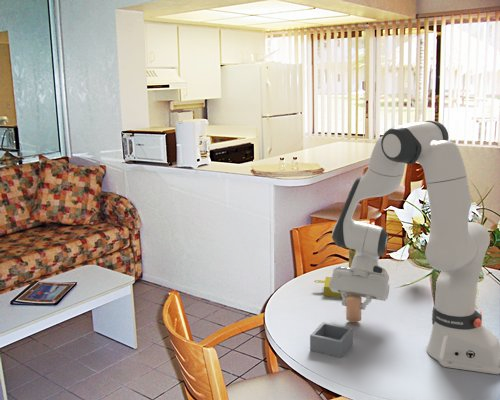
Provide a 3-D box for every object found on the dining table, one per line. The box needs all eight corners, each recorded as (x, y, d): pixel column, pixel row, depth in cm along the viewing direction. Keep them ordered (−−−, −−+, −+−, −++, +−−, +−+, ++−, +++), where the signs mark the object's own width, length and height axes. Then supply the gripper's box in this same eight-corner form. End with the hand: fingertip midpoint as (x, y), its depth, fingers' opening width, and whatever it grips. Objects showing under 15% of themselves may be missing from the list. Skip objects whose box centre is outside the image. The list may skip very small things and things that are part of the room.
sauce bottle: (346, 269, 234) (347, 224, 230) (361, 268, 235) (362, 223, 231) (351, 274, 228) (352, 228, 224) (365, 273, 229) (367, 227, 224)
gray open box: (352, 343, 171) (353, 328, 170) (341, 357, 163) (341, 342, 162) (322, 336, 176) (322, 322, 175) (310, 350, 168) (310, 335, 167)
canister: (363, 317, 186) (363, 296, 184) (358, 323, 182) (358, 301, 180) (349, 314, 188) (349, 293, 187) (344, 320, 184) (344, 299, 183)
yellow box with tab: (315, 265, 219) (354, 267, 216) (315, 283, 221) (353, 285, 218) (312, 279, 204) (353, 281, 202) (312, 299, 206) (353, 301, 203)
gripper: (332, 261, 192) (321, 297, 186) (390, 270, 182) (380, 308, 176) (337, 269, 197) (326, 305, 191) (393, 278, 187) (384, 316, 181)
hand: (353, 307), depth 184 cm, fingers closed on canister, 5 cm apart
